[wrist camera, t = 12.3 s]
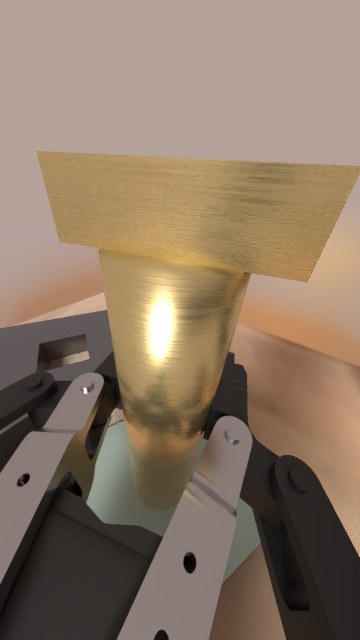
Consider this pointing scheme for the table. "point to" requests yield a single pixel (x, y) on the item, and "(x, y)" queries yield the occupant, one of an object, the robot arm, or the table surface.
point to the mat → (127, 509)
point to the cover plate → (53, 348)
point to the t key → (185, 277)
